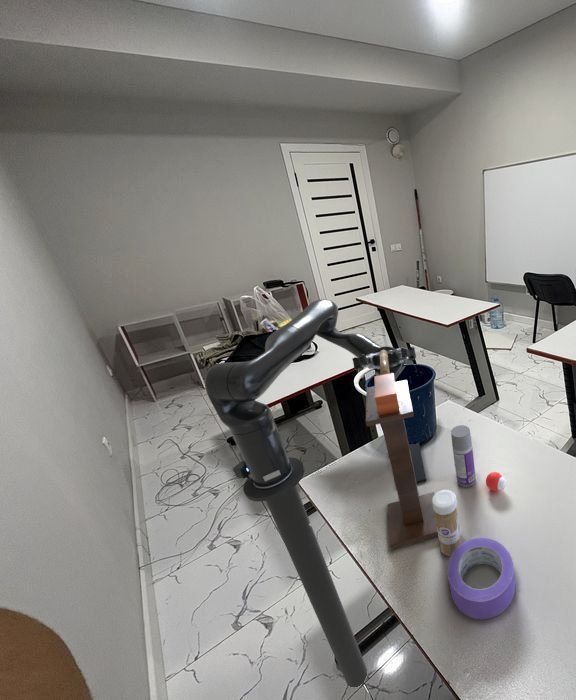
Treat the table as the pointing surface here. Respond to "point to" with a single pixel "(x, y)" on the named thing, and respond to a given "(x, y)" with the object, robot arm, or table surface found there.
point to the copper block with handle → (385, 388)
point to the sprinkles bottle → (447, 521)
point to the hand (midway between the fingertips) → (383, 355)
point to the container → (463, 455)
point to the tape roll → (487, 599)
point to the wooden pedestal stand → (403, 475)
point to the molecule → (495, 481)
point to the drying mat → (417, 462)
